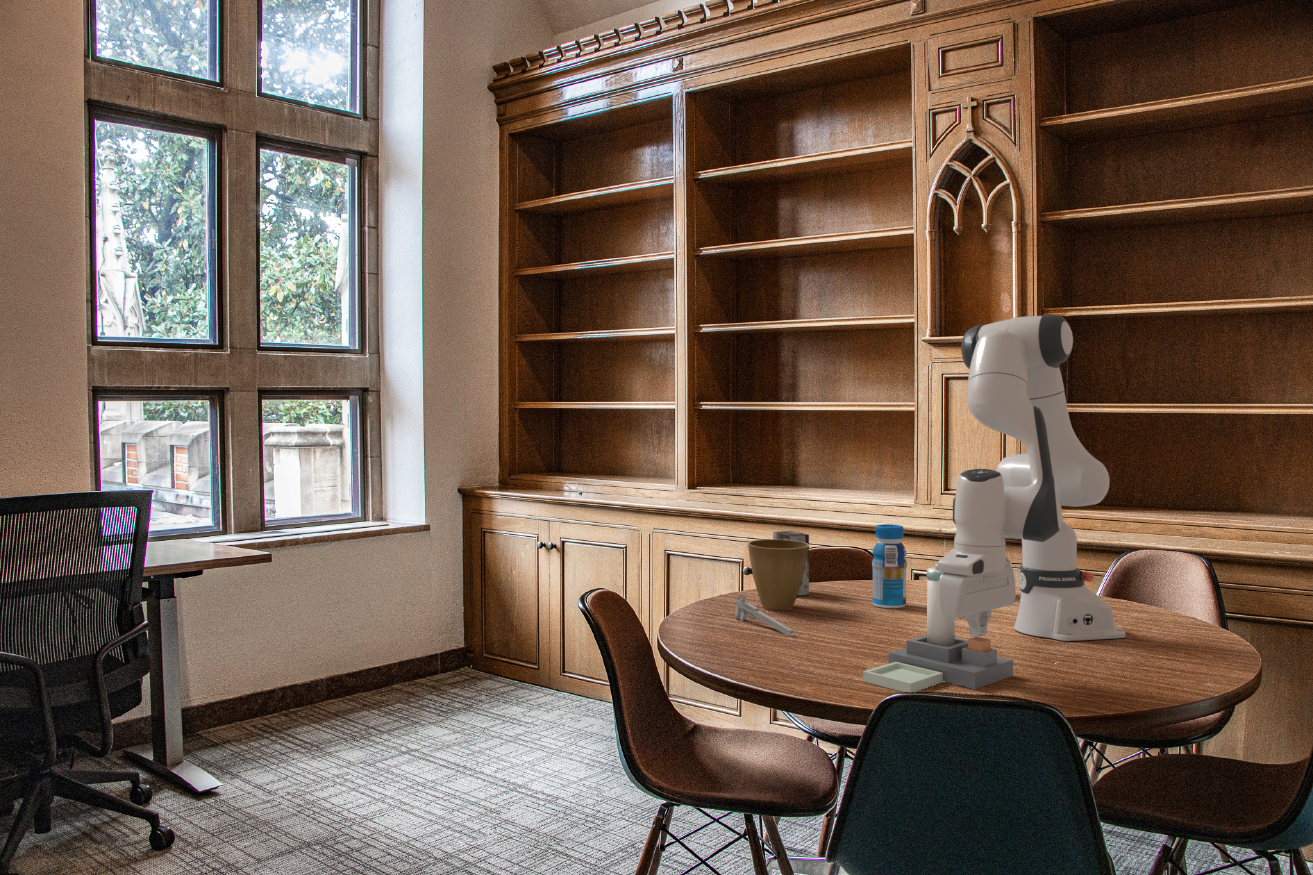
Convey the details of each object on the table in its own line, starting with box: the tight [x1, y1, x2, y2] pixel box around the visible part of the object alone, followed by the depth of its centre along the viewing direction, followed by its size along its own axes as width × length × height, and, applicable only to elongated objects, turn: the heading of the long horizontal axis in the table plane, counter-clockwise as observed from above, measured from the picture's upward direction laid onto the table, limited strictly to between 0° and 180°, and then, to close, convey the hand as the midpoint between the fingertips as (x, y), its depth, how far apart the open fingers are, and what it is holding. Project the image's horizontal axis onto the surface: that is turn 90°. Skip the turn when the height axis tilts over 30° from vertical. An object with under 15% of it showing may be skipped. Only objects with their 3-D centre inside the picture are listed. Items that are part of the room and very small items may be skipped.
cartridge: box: [926, 562, 956, 647], centre depth 179 cm, size 5×5×17 cm
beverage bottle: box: [871, 523, 908, 609], centre depth 237 cm, size 8×8×20 cm
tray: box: [862, 662, 944, 693], centre depth 171 cm, size 10×10×2 cm
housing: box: [888, 634, 1014, 691], centre depth 177 cm, size 13×18×6 cm
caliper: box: [734, 594, 797, 637], centre depth 214 cm, size 20×1×6 cm, turn 33°
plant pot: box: [747, 538, 810, 611], centre depth 235 cm, size 15×15×16 cm
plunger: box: [967, 636, 992, 652], centre depth 173 cm, size 3×3×3 cm
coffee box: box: [772, 530, 810, 596], centre depth 254 cm, size 9×6×16 cm
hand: (978, 635), depth 173 cm, fingers closed
